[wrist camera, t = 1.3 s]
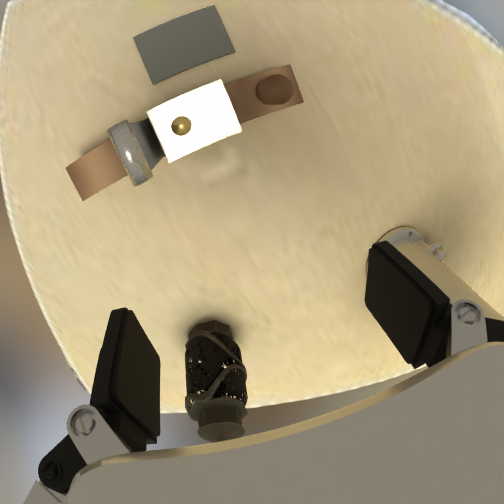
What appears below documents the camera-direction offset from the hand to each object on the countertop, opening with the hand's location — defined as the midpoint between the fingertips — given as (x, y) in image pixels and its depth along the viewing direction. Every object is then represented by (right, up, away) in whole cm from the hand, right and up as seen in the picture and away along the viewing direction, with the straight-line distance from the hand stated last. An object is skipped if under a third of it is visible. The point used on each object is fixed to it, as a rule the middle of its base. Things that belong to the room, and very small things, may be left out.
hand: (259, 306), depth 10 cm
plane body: (-8, +17, +19) cm, 27 cm away
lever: (-10, +13, +14) cm, 22 cm away
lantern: (-7, -12, +36) cm, 38 cm away
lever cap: (-6, +15, +15) cm, 22 cm away
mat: (-8, +26, +14) cm, 31 cm away
